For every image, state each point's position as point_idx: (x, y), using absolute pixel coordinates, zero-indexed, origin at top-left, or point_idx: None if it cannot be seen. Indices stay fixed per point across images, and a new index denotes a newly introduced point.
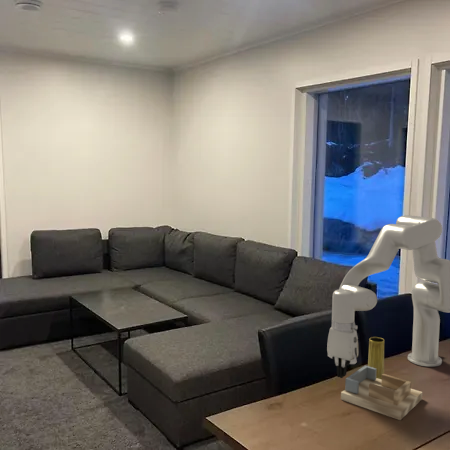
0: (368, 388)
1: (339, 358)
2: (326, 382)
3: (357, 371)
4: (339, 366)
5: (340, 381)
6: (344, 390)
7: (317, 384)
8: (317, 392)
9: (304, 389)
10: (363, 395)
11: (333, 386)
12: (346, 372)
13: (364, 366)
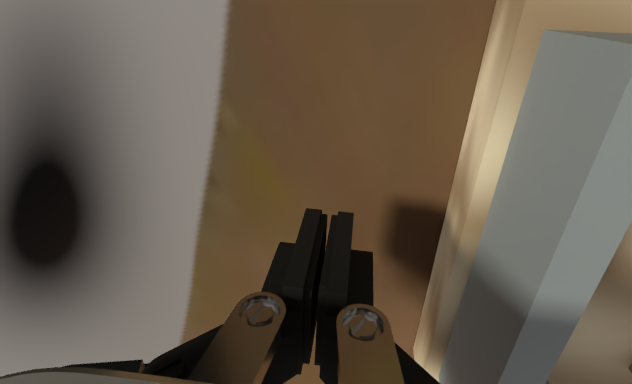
0: (616, 266)
1: (234, 374)
2: (222, 202)
3: (539, 328)
4: (302, 358)
5: (292, 124)
6: (430, 366)
7: (199, 258)
8: None
9: (190, 338)
10: (584, 375)
11: (294, 230)
12: (372, 259)
13: (630, 111)
